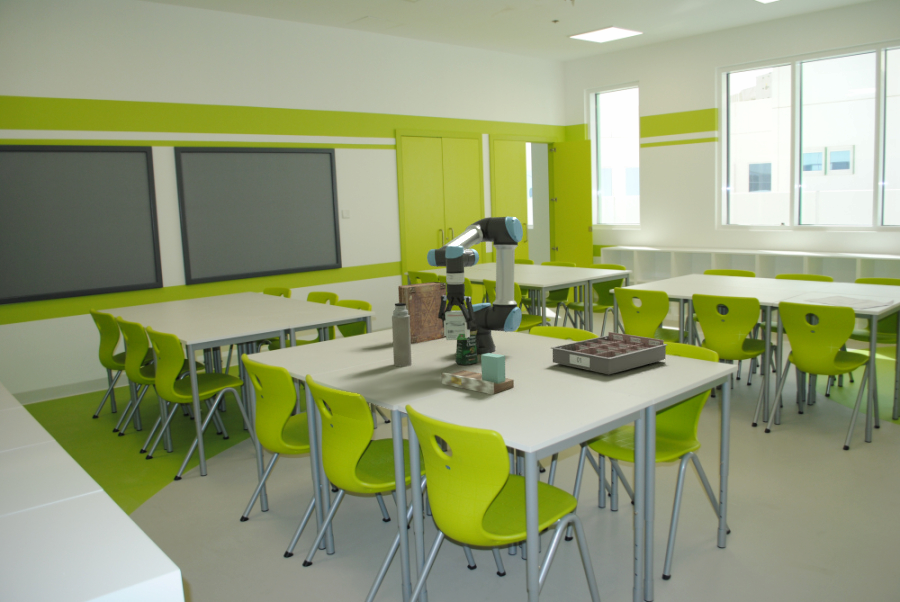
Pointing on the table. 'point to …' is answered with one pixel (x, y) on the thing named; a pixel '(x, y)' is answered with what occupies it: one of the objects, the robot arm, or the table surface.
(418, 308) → the book
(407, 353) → the thermos bottle
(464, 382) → the brown flat block
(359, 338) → the table surface
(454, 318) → the ink box
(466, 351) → the coffee jar
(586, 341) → the organizer tray
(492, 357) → the teal block
